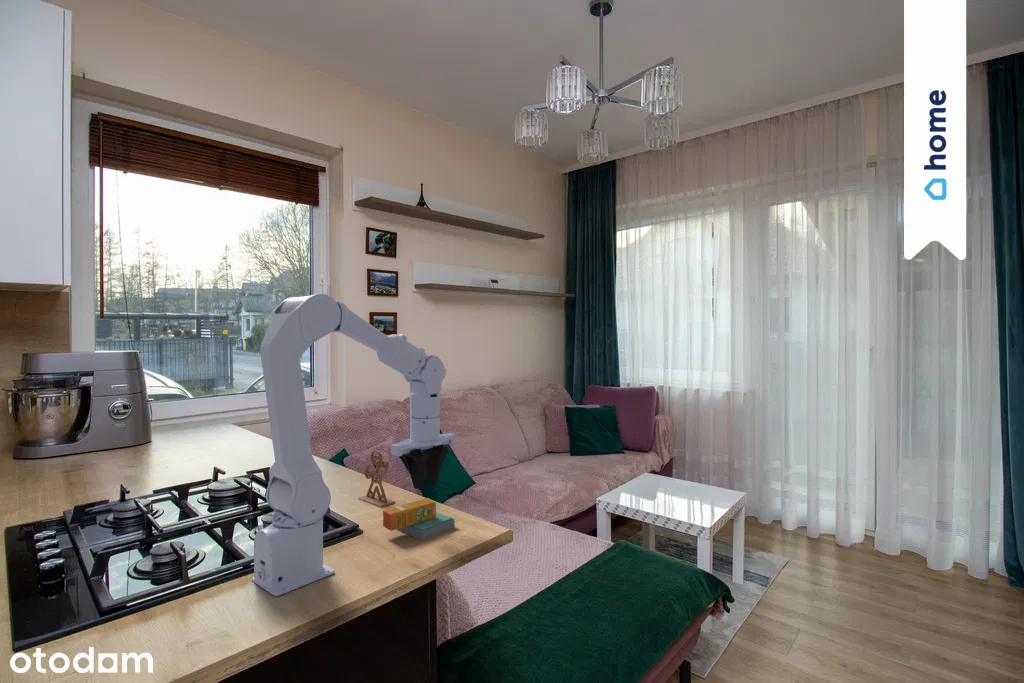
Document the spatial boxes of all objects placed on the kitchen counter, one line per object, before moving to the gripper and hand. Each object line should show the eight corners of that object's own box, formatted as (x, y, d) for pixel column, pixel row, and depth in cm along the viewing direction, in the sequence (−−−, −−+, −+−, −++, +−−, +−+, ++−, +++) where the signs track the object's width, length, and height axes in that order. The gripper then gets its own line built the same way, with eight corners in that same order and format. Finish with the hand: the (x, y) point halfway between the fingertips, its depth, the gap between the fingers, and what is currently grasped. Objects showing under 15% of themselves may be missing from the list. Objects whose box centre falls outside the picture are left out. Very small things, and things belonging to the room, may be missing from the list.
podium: (423, 540, 91) (423, 529, 91) (395, 530, 96) (395, 519, 96) (454, 527, 97) (454, 517, 97) (427, 518, 102) (427, 508, 102)
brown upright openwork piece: (357, 501, 113) (357, 449, 113) (372, 497, 116) (372, 446, 116) (381, 510, 107) (381, 454, 107) (396, 505, 110) (395, 451, 110)
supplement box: (391, 514, 90) (436, 500, 97) (381, 509, 93) (426, 496, 100) (392, 532, 90) (437, 517, 97) (382, 527, 93) (427, 513, 100)
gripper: (408, 423, 88) (408, 499, 89) (465, 413, 100) (466, 481, 100) (384, 419, 93) (384, 492, 93) (441, 410, 104) (442, 475, 104)
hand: (425, 486), depth 97 cm, fingers open, 3 cm apart
